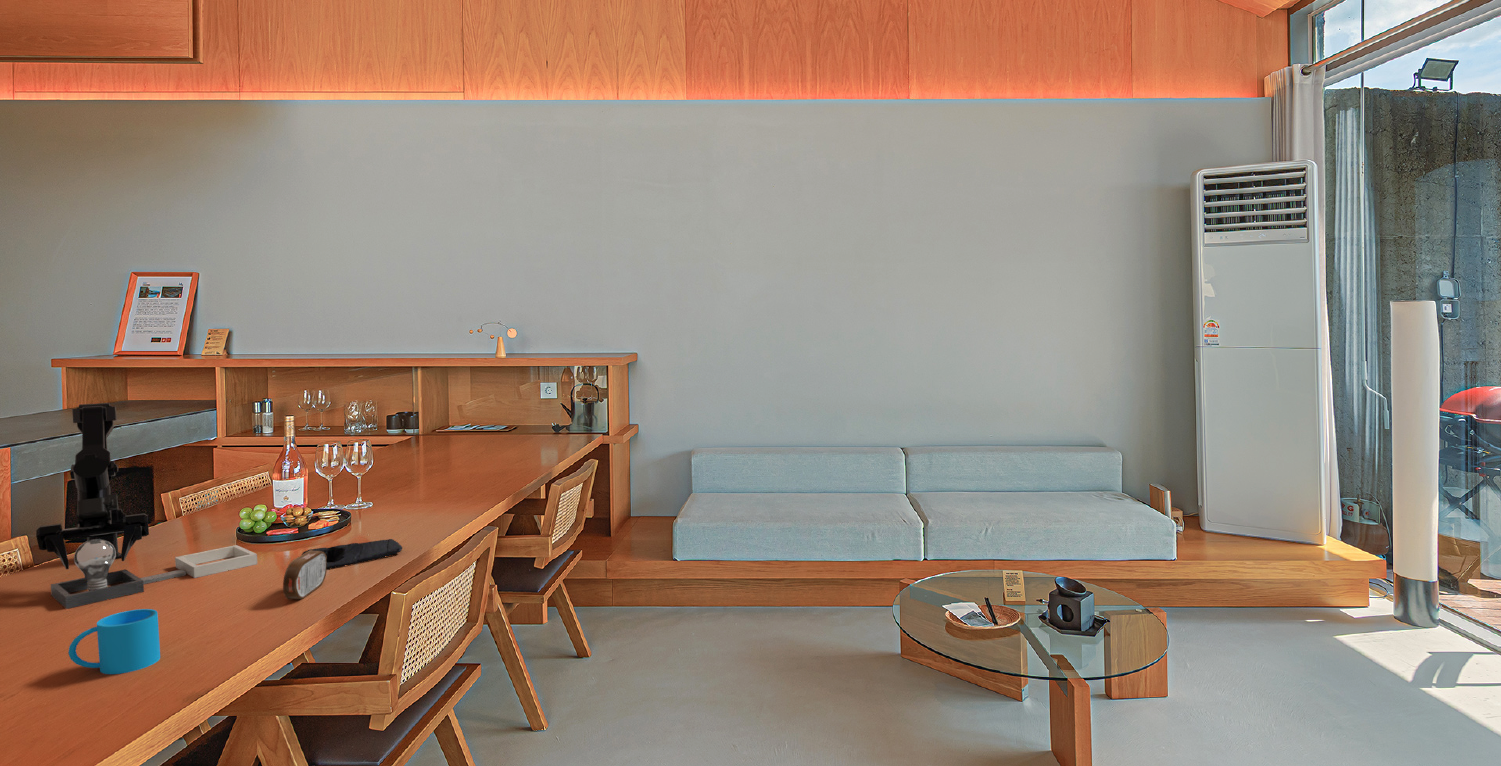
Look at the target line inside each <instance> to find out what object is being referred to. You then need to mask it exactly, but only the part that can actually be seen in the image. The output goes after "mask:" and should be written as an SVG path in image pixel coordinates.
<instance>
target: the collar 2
mask: <svg viewBox="0 0 1501 766" xmlns="http://www.w3.org/2000/svg"><path fill="white" fill-rule="evenodd" d="M174 562H175V563H174V564H175V568H176V569H177V570H181V569H182V570H183V571H185V572H186V575H189V576H190V577H192V578H194V579H197V578H201V577H205V576H211V575H215V574H219V573H224V572H228V570H229V571H232V570H237V569H242V568H246V567H250V566H255V565H258V554H257V553H256V552H253V551H250V550H249V549H247V548H244V547H242V546H239V545H237V544H235V545H230V546H225V547H220V548H216V549H215V548H214V549H209V550H205V551H201V552H196V553H190V554H185V555H180V556H175V557H174Z"/></svg>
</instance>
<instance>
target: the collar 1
mask: <svg viewBox="0 0 1501 766" xmlns="http://www.w3.org/2000/svg"><path fill="white" fill-rule="evenodd" d="M140 578H141V577H139V576H137V575H135V574H134V573H133V572H131V571H129V570H127V569H126V568H125V569H121V570H120V569H119V570H116V571H115V570H114V571H111V572H108V576H107V578H106V580H107V587H104V588H100V589H95V590H90V591H89V590H88V589H87V588H88V587H87V585H88V584H87V582H88V581H87V580H86V579H85V577H81V578H76V579H75V578H74V579H71V580H66V581H61V582H55V583H51V584H50V596H51V597H52V598H54V600H56V601H57V603H59V604H60V605H61V606H63V607H64V608H65V610H67V609H72V608H76V607H77V608H78V607H81V606H86V605H90V604H94V602H95V603H99V602H104V601H107V599H109V600H112V599H118V598H121V596H122V597H125V596H124V595H127V596H131V595H135V594H134V593H136V594H139V593H138V592H140V593H144V592H145V588H144V585H145V584H143V580H142V579H140ZM119 583H120V584H119ZM109 584H110V585H109ZM81 591H82V592H81ZM117 597H118V598H117Z"/></svg>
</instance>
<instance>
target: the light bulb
mask: <svg viewBox="0 0 1501 766" xmlns="http://www.w3.org/2000/svg"><path fill="white" fill-rule="evenodd" d="M115 557H116V551H115V548H114V546H113V545H112V544H111V543H110V542H108V541H106V540H103V539H92V540H89V541H88V540H86V541H84V542H83V543H82V544H80V545H79V546H78V548H77V549H76V550H75V552H74V557H73V561H74V564H75V566H76V567H77V568H78V569H79V571H81V572H82V574H83V576H84V578H85V579H86V580H87V581H88V582H87V584H88V585H87V587H88V588H87V591H90V590H95V589H100V588H104V587H108V585H107V580H106V578H107V576H108V573H110V572H109V571H110V568H111V566H112V565H113V563H114V562H115V559H116V558H115Z"/></svg>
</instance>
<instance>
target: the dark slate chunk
mask: <svg viewBox="0 0 1501 766" xmlns="http://www.w3.org/2000/svg"><path fill="white" fill-rule="evenodd" d="M310 550H313V551H322V552H324V553H325V554H326V557H327V566H326V570H330V568H331V569H336V568H335V567H337V568H342V567H346V566H345V565H348V566H351V565H350V564H353V565H355V564H359V562H360V563H365V562H364V561H366V562H369V561H368V560H371V561H374V560H373V559H375V560H379V559H378V558H380V559H383V558H382V557H385V556H389V557H391V556H390V555H392V556H394V554H395V555H396V554H398V553H401V552H402V550H403V546H402V545H401V544H400V543H399V542H398V541H396V540H394V539H393V538H389V539H380V540H373V541H367V542H353V543H352V542H351V543H347V544H339V545H335V546H330V547H325V546H324V547H317V548H313V549H311V548H310V549H307V550H305V551H303V552H302V553H301V555H303V554H304V553H306V552H308V551H310ZM385 558H386V557H385ZM331 561H333V562H331Z"/></svg>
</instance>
